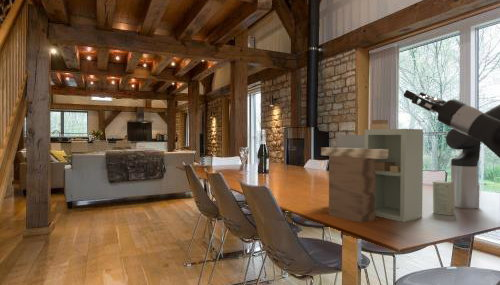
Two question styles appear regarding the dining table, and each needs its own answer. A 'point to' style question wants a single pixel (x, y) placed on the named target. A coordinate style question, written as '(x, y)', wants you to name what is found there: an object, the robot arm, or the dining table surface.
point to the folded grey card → (351, 141)
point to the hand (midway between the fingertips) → (412, 93)
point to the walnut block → (352, 188)
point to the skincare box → (443, 198)
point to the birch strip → (355, 152)
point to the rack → (397, 171)
